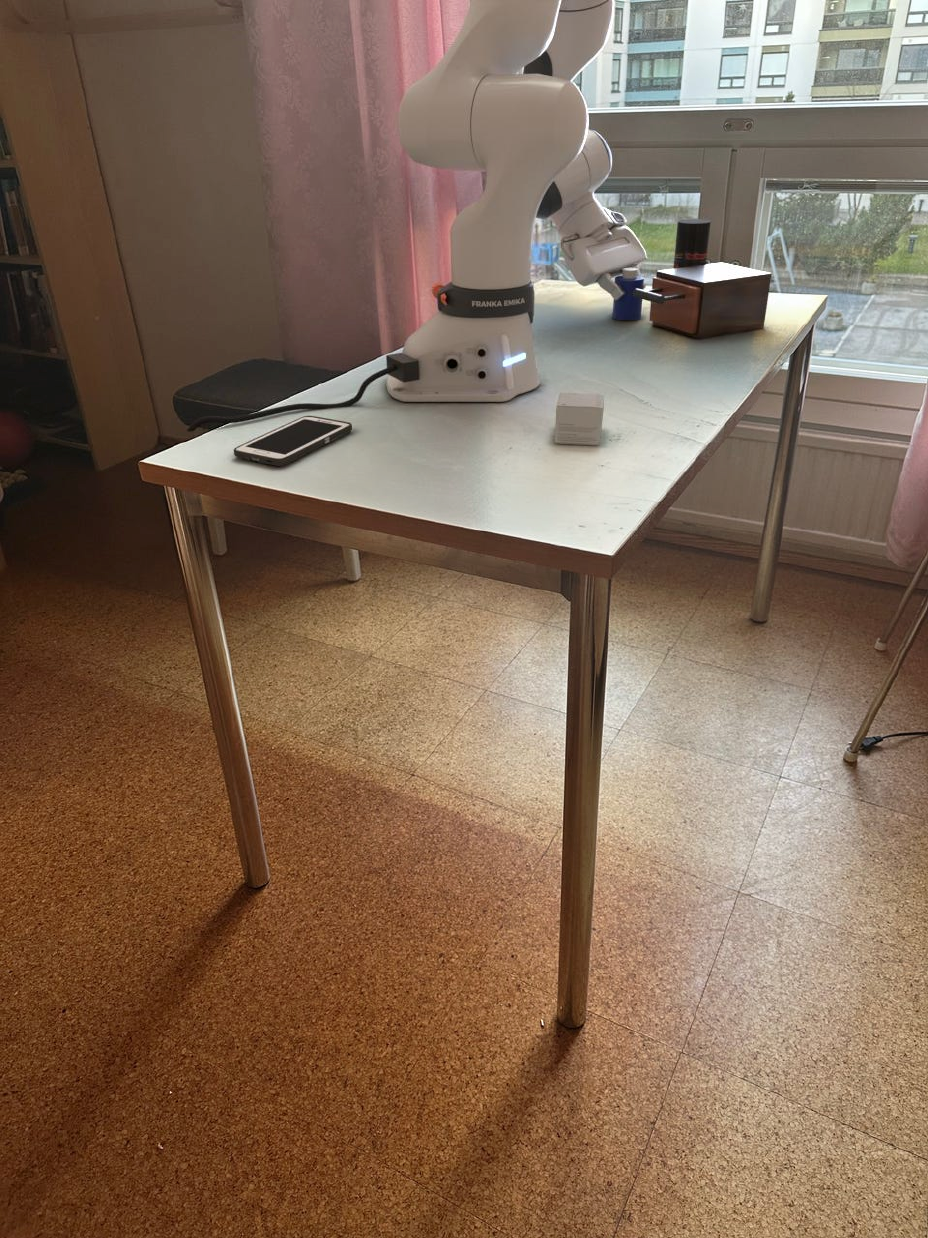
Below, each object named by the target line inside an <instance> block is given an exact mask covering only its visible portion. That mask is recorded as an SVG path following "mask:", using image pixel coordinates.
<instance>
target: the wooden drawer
mask: <svg viewBox="0 0 928 1238" xmlns="http://www.w3.org/2000/svg"><path fill="white" fill-rule="evenodd" d="M651 282H652V283H651V289H643V290H641V289H635V290H634V292H633V296H634V297H637V298H640V299H642V300H644V301H648V302H650V306H649V307H650V308H649V320H648V321H649V322H651V323H652V322H656V323H659V324H662V325H665V326H668V327H671V328H675V329H678V330H681V331H684V332H687V333H690V334H692V333H696V332H697V323H698V313H699V304H700V295H701V287H700V286H696V285H692V284H688V283H684V282H680V281H676V280H672V279H668V278H667V279H665V278H661V277H656V276H655V277H654V276H653V277H652V281H651Z"/></svg>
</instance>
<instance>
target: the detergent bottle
mask: <svg viewBox="0 0 928 1238" xmlns="http://www.w3.org/2000/svg"><path fill="white" fill-rule="evenodd" d="M644 281H645V277H644V276H642V275H641V276H637V269H636V268H624V269H623V272H622V275H620V276H616V277H614V282H615V283H616V284H617V285H618V286H621V287H622V288H623V290H624V291H625V295H624V296H622V298H621V299H618V300H614V299H613V300H612V301H613V302H612V303H613V304H612V319H614V320H617V321H625V322H628V321H629V322H631V321H638V320H640V319H642V308H643V307H642V306H643V299H640V298H637V297H634V296H633V292H634V290H635V289H641V290H644V289H643V284H644V283H645V282H644Z"/></svg>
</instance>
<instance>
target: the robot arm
mask: <svg viewBox="0 0 928 1238" xmlns="http://www.w3.org/2000/svg"><path fill="white" fill-rule="evenodd" d="M614 1H615V0H470V2H469V6H468V10H467V13H466V16H465V18H464V21H463V23H462V25H461V27H460V30H459V31H458V33H457V34H456V37H455V38H454V40H453V42H452V43H451V45H450V46H449V47H448V49H447V50H446V52H445V54H444V55H443V56H442V57H441V59H440V60H439V61H438V62H437V63H436V64H435V66H433V68H432V69H431V70H430V71H428V73H427V74H425V75H424V76H423V77H422V78H420V79H419V80H417V81H416V82H414V83H413V84H411V85H410V86H409V87H408V88H407V90H406V91H405V93H404V95H403V96H402V99H401V101H400V103H399V107H398V112H397V132H398V137H399V140H400V143H401V146H402V148H403V149H404V152H405V153H406V155H407V156H408V157H409V159H410V160H411V161H413V162H415V163H416V164H420V165H423V166H427V167H429V168H432V169H433V168H434V169H437V170H442V171H445V172H447V171H448V172H450V171H451V172H483V173H485V172H486V182H485V187H484V189H483V190H484V191H483V193H482V195H481V197H480V199H478V200H476V201H474V202H473V203H470V204H469V205H468V206H467V207H465V208H463V209H462V210H461V211H460V212H459V213H458V214H457V215H456V217H455V218H454V220H453V221H452V225H451V227H450V231H449V235H450V236H449V239H450V271H451V272H450V273H451V275H450V276H451V281H450V282H448V283H447V284H445V285H444V283H442V282H440V281H437V282H434V283H433V285H432V286H431V294H432V295H433V297H434V298H435V299H436V302H437V309H438V311H437V312H436V313H435V314H434V315H433V316H431V317H430V318H429V319H428V320H427V321H425V323H423V324H422V325H421V326H420V327H419V328H417V329H416V330H415V331H413V333H412V334H410V335H409V336H408V337H407V338H406V340H405V342H404V345H403V348H402V350H401V351H402V352H398V353H391V354H386V355H385V359H386V368H383V369H381V370H378V371H377V372H375V373H373V374H372V375H370V376H368V377H367V378H366V379H365V380H364V381H363V382H362V383H361V385H360V386H359V389H358V391H357V393H356V394H355V395H354V397H352V398H350V399H348V400H345V401H343V402H339V403H313V402H311V403H309V402H308V403H293V404H287V405H282V406H277V407H273V408H269V409H265V410H261V411H257V412H252V413H247V414H244V415H237V416H218V415H217V416H216V415H207V416H203V417H200V418H198V419H195V421H193V422H192V423H191V424H190V425H189V426H188V428H187V430H186V432H189V433H190V432H194V431H195V430H196V429H197V428H199V427H200V426H202V425H203V424H207V423H208V424H209V423H218V424H219V423H221V424H236V423H242V422H247V421H253V420H257V419H260V418H265V417H270V416H272V415H277V414H282V413H286V412H292V411H298V410H329V409H338V408H346V407H352V406H353V405H355V404H357V403H358V402H360V400H361V399H362V397H363V396H364V394H365V391H366V389H367V388H368V386H369V385H371V384H372V383H373V382H375V381H376V380H378V379H379V378H382V377H384V376H386V375H387V378H386V390H387V392H388V394H389V396H391V397H392V398H393V399H396V400H397V401H400V402H403V403H404V402H405V403H406V402H408V403H411V402H412V403H416V402H417V403H420V402H421V403H429V402H430V403H435V402H436V403H440V402H441V403H454V402H455V403H457V402H459V403H460V402H461V403H463V402H464V403H465V402H466V403H469V402H470V403H471V402H472V403H473V402H474V403H478V402H479V403H483V402H484V403H487V402H489V403H491V402H494V403H495V402H497V403H499V402H500V403H502V402H508V401H510V400H513V398H515V397H516V396H518V395H521V394H524V393H527V392H530V391H533V390H535V389H536V388H537V387H539V386H540V385H541V378H540V374H539V371H538V367H537V362H536V355H535V349H534V341H533V340H534V339H533V329H532V328H533V327H532V324H533V323H534V316H535V289H534V288H535V287H534V285H535V283H534V282H533V281H532V280H531V279H532V256H533V255H532V253H533V240H534V239H533V238H534V230H535V223H536V219H540V220H546V219H549V220H550V221H551V222H552V223H553V225H554V226H555V229H556V232H557V234H558V236H559V237H560V238H561V239H560V246H559V247H560V250H561V251H562V253H563V255H562V256H563V259H564V262H565V264H566V266H567V267H568V269H569V271H570V273H571V275H572V276H573V278H574V279H575V281H576V282H577V283H578V284H579V285H580V286H582V287H588V286H591V285H594V284H598V285H599V287H600V288H601V289H603V291H605V292H607V293H608V294H610V296H611V297H612V298H613V300H618V299H621V298H622V296H624V295H625V291H624V290H623V288H622V287H621V286H618V285H617V284H616V283H615V280H613V278H615V277H617V276H622V272H623V269H624V268H636V269H637V276H641V277H642V275H641V270H640V267H642V265H644V263H645V262H647V260H648V256H647V252H646V250H645V248H644V247H643V245H642V243H641V242H640V240H639V239H638V237H637V235H635V233H634V231H633V230H632V228H631V229H630V227H628V226H627V225H626V224H627V219H626V217H625V216H624V215H623V213H620V212H617V211H613V210H610V209H608V208H607V207H603V206H602V205H601V203H600V202H599V201H598V200H597V198H595V194H594V193H595V191H596V190H597V189H599V188H600V187H601V186H602V185H603V184H604V183H605V182H606V181H607V179H608V178H609V177H610V174H611V171H612V166H613V155H612V151H611V149H610V146H609V145H608V142H607V141H606V140H605V138H604V137H603V136H602V135H601V134H600V133H598V132H597V131H596V130H594V129H591V128H589V111H588V106H587V103H586V100H585V98H584V96H583V94H582V92H581V90H580V88H579V87H578V86H577V85H576V83H575V82H573V81H574V79H575V78H576V77H577V76H578V75H579V74H580V73H582V71H583V70H584V69H585V67H587V66H588V65H589V64H590V63H591V62H592V61H594V59H595V58H596V57H597V56H598V55H599V53H601V51H602V50H603V49H604V47H605V45H606V44H607V42H608V39H609V36H610V33H611V30H612V25H613V19H614V7H615V6H614ZM522 69H523V70H522ZM520 70H522V73H519V72H520ZM646 287H647V285H646V283H645V282H644V284H643V290H645V289H646Z"/></svg>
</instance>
